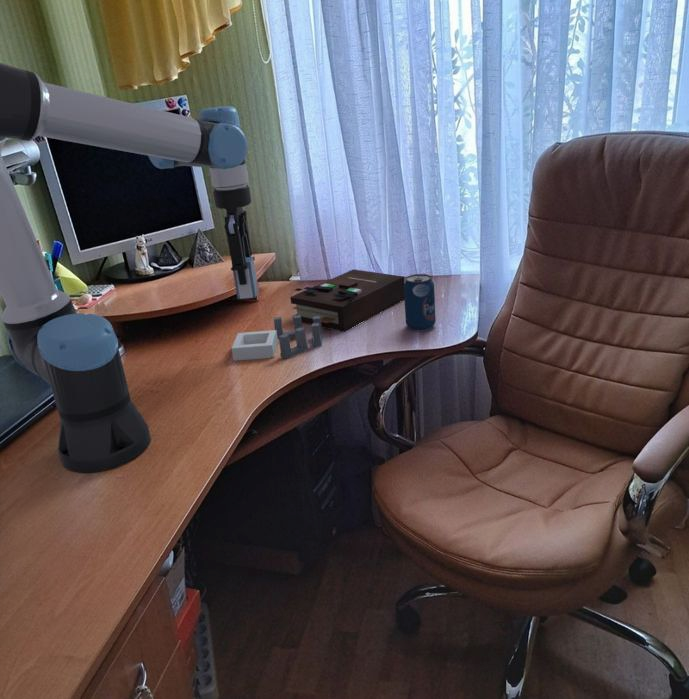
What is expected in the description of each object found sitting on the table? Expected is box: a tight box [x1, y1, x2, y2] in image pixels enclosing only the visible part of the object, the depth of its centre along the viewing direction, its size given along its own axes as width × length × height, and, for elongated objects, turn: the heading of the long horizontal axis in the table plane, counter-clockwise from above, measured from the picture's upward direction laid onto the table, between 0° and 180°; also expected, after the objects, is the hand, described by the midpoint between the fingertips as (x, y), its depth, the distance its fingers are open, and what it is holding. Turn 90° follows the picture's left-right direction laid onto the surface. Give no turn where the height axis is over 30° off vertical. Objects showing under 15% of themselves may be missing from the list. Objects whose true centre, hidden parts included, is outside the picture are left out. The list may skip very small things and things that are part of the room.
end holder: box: [230, 329, 279, 362], centre depth 150 cm, size 9×9×3 cm
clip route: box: [273, 314, 324, 360], centre depth 150 cm, size 11×14×5 cm
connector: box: [232, 256, 259, 300], centre depth 144 cm, size 4×4×9 cm
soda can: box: [403, 273, 437, 332], centre depth 153 cm, size 7×7×12 cm
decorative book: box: [290, 268, 405, 333], centre depth 169 cm, size 19×8×30 cm
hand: (248, 294), depth 145 cm, fingers closed on connector, 4 cm apart
